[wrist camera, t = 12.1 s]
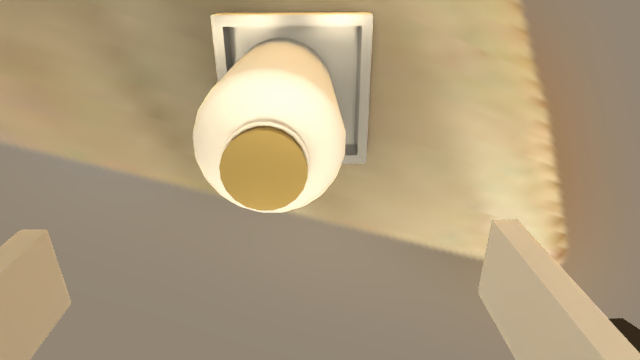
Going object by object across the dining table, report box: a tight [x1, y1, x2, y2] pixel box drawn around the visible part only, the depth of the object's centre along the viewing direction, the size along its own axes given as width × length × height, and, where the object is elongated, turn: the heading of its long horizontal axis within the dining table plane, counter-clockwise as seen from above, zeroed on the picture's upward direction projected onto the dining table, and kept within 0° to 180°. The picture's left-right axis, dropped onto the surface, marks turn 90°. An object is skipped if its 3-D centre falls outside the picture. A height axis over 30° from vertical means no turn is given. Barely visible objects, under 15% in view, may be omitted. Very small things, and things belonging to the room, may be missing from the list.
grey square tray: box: [210, 12, 373, 164], centre depth 34 cm, size 12×12×4 cm
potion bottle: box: [193, 39, 346, 213], centre depth 27 cm, size 8×8×18 cm
